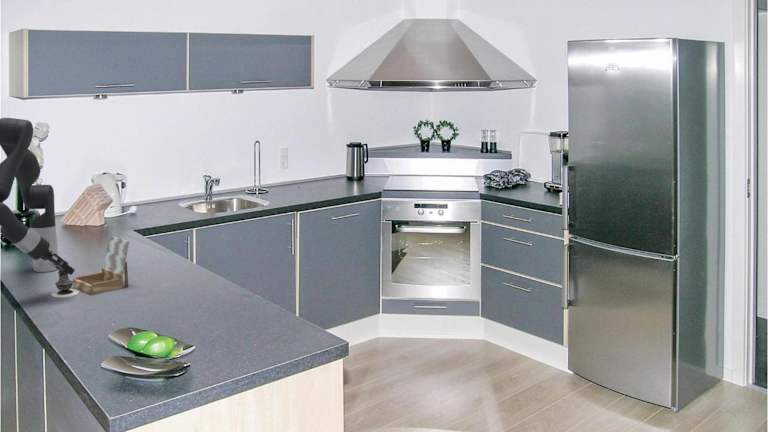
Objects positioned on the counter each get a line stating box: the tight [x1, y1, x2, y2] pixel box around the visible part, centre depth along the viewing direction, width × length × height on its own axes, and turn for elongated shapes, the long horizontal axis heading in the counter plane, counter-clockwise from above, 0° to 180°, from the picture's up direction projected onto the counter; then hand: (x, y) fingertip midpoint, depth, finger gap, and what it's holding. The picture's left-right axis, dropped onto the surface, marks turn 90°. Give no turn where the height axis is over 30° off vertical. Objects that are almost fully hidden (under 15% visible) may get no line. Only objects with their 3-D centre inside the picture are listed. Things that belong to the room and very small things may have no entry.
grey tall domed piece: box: [54, 262, 73, 295], centre depth 285 cm, size 6×6×12 cm
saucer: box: [51, 288, 80, 299], centre depth 286 cm, size 9×9×1 cm
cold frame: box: [72, 235, 130, 295], centre depth 294 cm, size 14×15×17 cm
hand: (67, 270), depth 286 cm, fingers open, 8 cm apart
